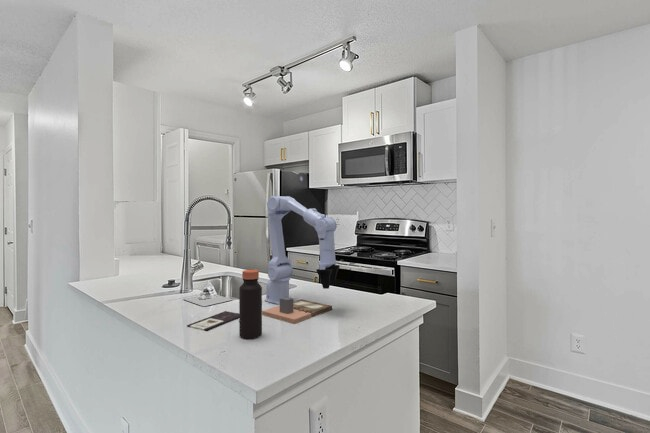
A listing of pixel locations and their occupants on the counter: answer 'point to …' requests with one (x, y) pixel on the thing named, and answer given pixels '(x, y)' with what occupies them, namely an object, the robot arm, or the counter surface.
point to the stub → (286, 312)
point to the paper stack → (205, 302)
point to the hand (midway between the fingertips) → (329, 286)
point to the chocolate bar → (214, 321)
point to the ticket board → (311, 307)
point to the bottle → (250, 305)
